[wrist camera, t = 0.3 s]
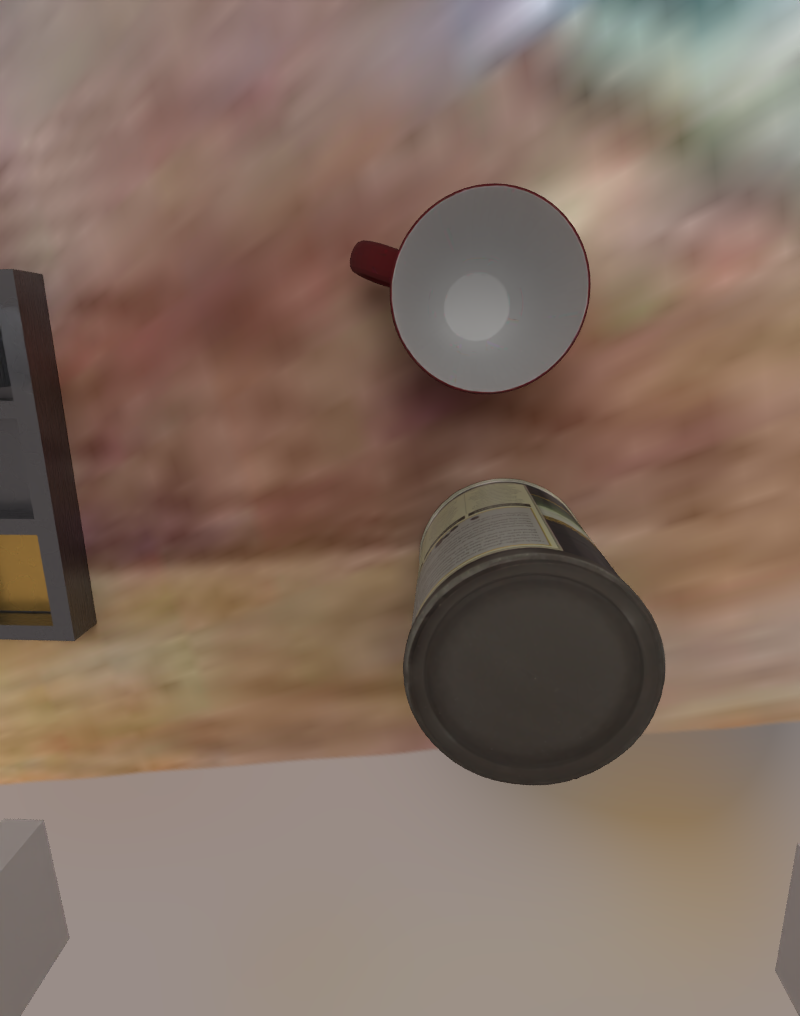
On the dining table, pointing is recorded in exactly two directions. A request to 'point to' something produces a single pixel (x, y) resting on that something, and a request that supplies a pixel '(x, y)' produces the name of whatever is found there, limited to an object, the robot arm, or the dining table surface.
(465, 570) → the coffee can
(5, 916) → the robot arm
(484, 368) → the mug
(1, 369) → the grey block with knob
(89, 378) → the dining table surface
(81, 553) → the grey compartment tray
